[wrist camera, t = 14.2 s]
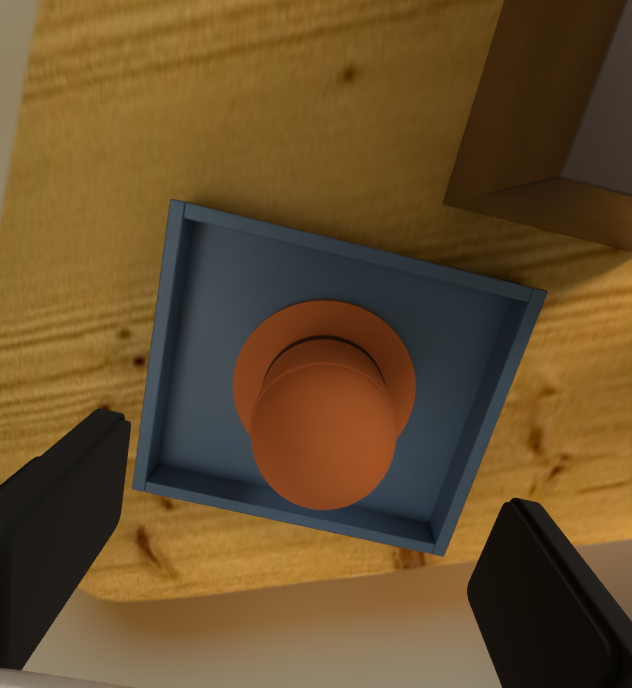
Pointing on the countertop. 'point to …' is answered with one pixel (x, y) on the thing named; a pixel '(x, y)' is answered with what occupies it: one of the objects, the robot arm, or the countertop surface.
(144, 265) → the countertop surface
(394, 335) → the hat
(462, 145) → the stand block
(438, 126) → the countertop surface
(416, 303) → the tray
